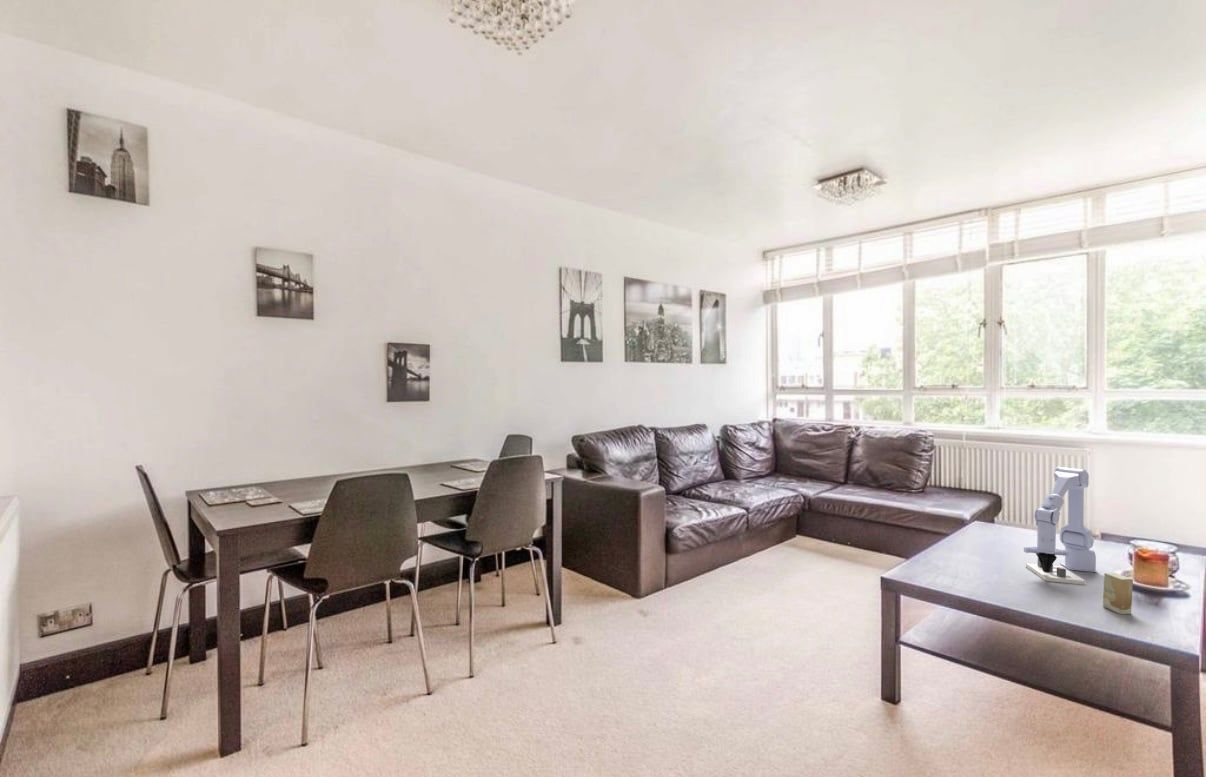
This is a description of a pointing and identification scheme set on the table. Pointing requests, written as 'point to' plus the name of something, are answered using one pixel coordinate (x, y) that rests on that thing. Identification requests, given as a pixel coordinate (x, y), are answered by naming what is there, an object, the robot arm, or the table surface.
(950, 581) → the table surface
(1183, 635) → the table surface
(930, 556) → the table surface
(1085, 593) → the table surface
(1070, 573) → the breaker panel
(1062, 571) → the breaker
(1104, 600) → the skincare box
